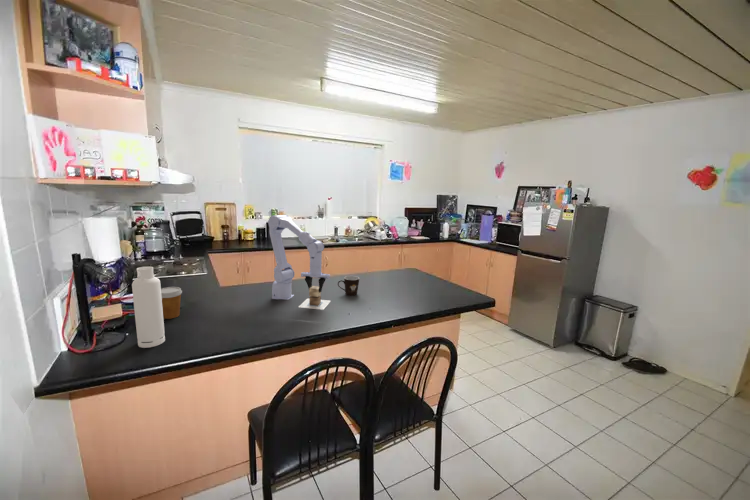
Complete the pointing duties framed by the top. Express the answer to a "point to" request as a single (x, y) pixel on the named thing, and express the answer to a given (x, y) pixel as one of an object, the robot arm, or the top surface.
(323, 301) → the board
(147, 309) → the bottle
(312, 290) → the maple block
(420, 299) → the top surface
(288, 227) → the robot arm
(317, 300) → the walnut block
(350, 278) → the coffee mug
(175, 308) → the disposable coffee cup
